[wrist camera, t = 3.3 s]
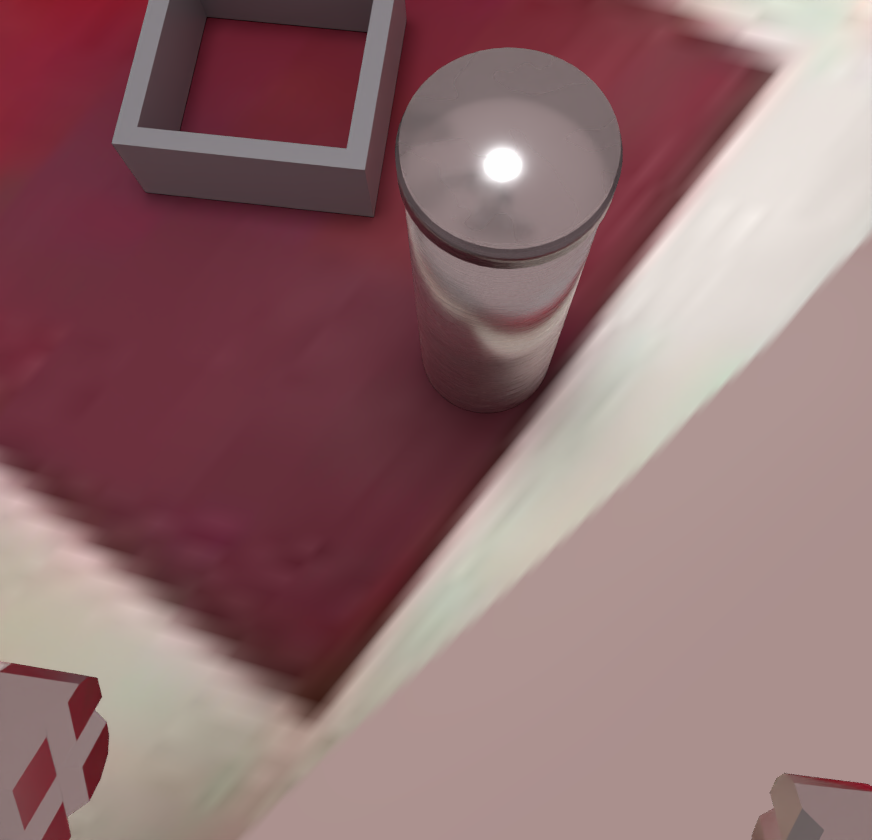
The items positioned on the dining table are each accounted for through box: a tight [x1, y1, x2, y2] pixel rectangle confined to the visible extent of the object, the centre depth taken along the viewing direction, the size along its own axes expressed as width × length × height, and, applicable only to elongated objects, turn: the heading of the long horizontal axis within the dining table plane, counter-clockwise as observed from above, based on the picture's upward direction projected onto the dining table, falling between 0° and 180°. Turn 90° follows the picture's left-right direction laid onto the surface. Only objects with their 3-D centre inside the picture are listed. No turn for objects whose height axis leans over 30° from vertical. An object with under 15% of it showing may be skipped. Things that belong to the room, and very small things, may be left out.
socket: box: [112, 0, 406, 217], centre depth 33 cm, size 10×10×4 cm
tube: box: [395, 48, 622, 413], centre depth 25 cm, size 5×5×14 cm
